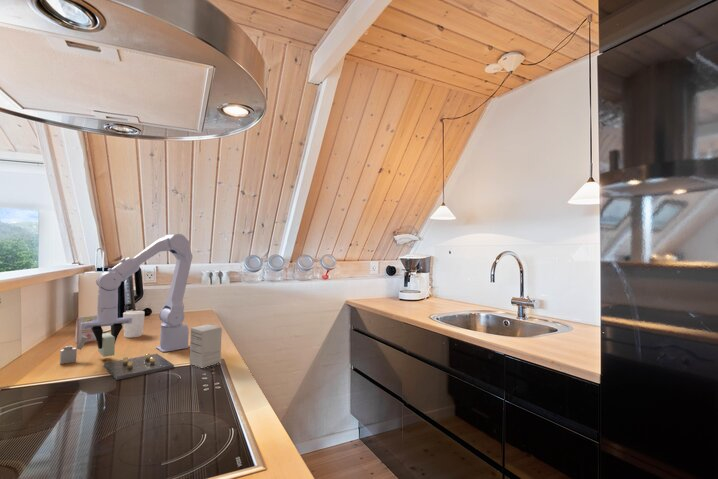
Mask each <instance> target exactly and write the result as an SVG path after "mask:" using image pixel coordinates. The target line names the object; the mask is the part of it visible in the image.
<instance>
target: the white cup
mask: <svg viewBox="0 0 718 479" xmlns="http://www.w3.org/2000/svg"><path fill="white" fill-rule="evenodd" d="M126 317H131V318H132V323H130V324H128V323H127V324H122V329H123V337H124V338H131V339H132V338H137V337H141V336H143V334H144V333H143V330H144V323H145V311H143V310H129V311H124V312H123V313H122V318H126Z"/></svg>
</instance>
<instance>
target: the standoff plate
mask: <svg viewBox="0 0 718 479" xmlns="http://www.w3.org/2000/svg"><path fill="white" fill-rule="evenodd" d="M103 367H104V369H106V371H107V372H109V373H110V375H111V376H112V377H113V378H115V380H116V381H119V380H123V379H129V378H133V377H139V376H143V375H147V374H151V373H157V372H161V371H165V370H166V369H167V370H171V369H174V368H175V365H174V364H173V363H172V362H170V361H169V360H168V359H166V358H164V357H163V356H162V355H161V354H159V353H153V354H152V353H151V354H150V353H145V354H144V355H142V356H137V357H131V358H129V357H123V358H122V359H119V360H115V361H109V362H103ZM170 368H171V369H170ZM167 370H166V371H167Z"/></svg>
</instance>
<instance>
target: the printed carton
mask: <svg viewBox="0 0 718 479" xmlns="http://www.w3.org/2000/svg"><path fill="white" fill-rule="evenodd" d="M95 320H97V315H87V316H78V317H76V323H75V336H74V337H75V338H74V342H75V343H76V345H78V343H79V341H80V340H81V338H82V336H85V337H87V338H88V339H87V340H86V342H85V343H91V342H97V340H96V337H95V335H94V333H93V331H92V329H91V328H86V329H81V328H80V325H81V323H83V322H89V321H95Z"/></svg>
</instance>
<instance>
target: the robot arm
mask: <svg viewBox="0 0 718 479" xmlns="http://www.w3.org/2000/svg"><path fill="white" fill-rule="evenodd" d="M161 252H170V253H171V254H172V255H173V256H174V258H176V262H175V266H174V270H173V275H172V280H171V283H170V288H169V292H168V296H167V299H166V300H165V301H164V303H163V307H162V308H161V309H160V310H159V313H158V317H159V320H160V321H161V323H160V335H159V336H160V339H159V345H158V346H155V348H156V349H157V350H159V351H161V352H162V353H166V352H172V351H177V350H182V349H188V348H189V349H190V345H189V339H190V338H189V335H190V331H189V326H188V324H187V323H183V322H184V320H185V318H186V317H185V313H184V312H185V305H184V302H183V300H184V295H185V292H186V286H187V282H188V278H189V274H190V269H191V264H192V259H193V253H192V249H191V248H190V241H189V240H188V238H187V237H186V236H185V235H183V234H182V233H181V234H180V233H175V234H173V233H166V234H165V235H164V236H162V237H160V238H158V239H156V240H155V241H154V242H153V243H151V244H150V245H148V246H147V247H145V248H144V249H143V250H142V251H141V252H139V253H137V255H135V256H133V257H126V258H121V259H120V260H119V262H118V264H116V265H114V266H113V267H112V268H111V267H109V268H108V269H107V271H106V272H102V273H100V274H99V275H98V277H97V279H96V281H95V283H96V285H97V287H98V290H97V291H98V292H97V293H98V294H97V308H96V309H97V313H96V314H97V320H95V321H89V322H83V323H81V325H80V328H81V329H86V328H91V329H92V331H93V333H94V335H95V337H96V340H97V341H96V342H97V349H98V348H99V349H102V334H104V329H103V327H109V326H110V334H111V335H112V336H114V337H115V343H116V341H117V338H118V336H119V334H120V332H121V331H122V329H123V324H127V323H128V324H130V323H132V318H131V317H126V318H123V317H118V304H119V302H118V301H119V293H118V292H119V287H120V286H121V284H122V282H124V281H125V280H127V279H128V278H129V277H131V276H132V275H134V274H136V272H138V271H139V270H140V267H141V265H142V264H144V263H145V262H146V261H148V260H149V259H151V258H153V257H154V256H155V255H157V254H159V253H161Z"/></svg>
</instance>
